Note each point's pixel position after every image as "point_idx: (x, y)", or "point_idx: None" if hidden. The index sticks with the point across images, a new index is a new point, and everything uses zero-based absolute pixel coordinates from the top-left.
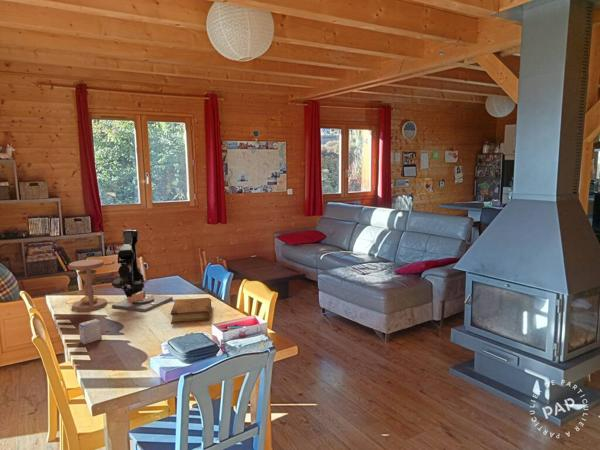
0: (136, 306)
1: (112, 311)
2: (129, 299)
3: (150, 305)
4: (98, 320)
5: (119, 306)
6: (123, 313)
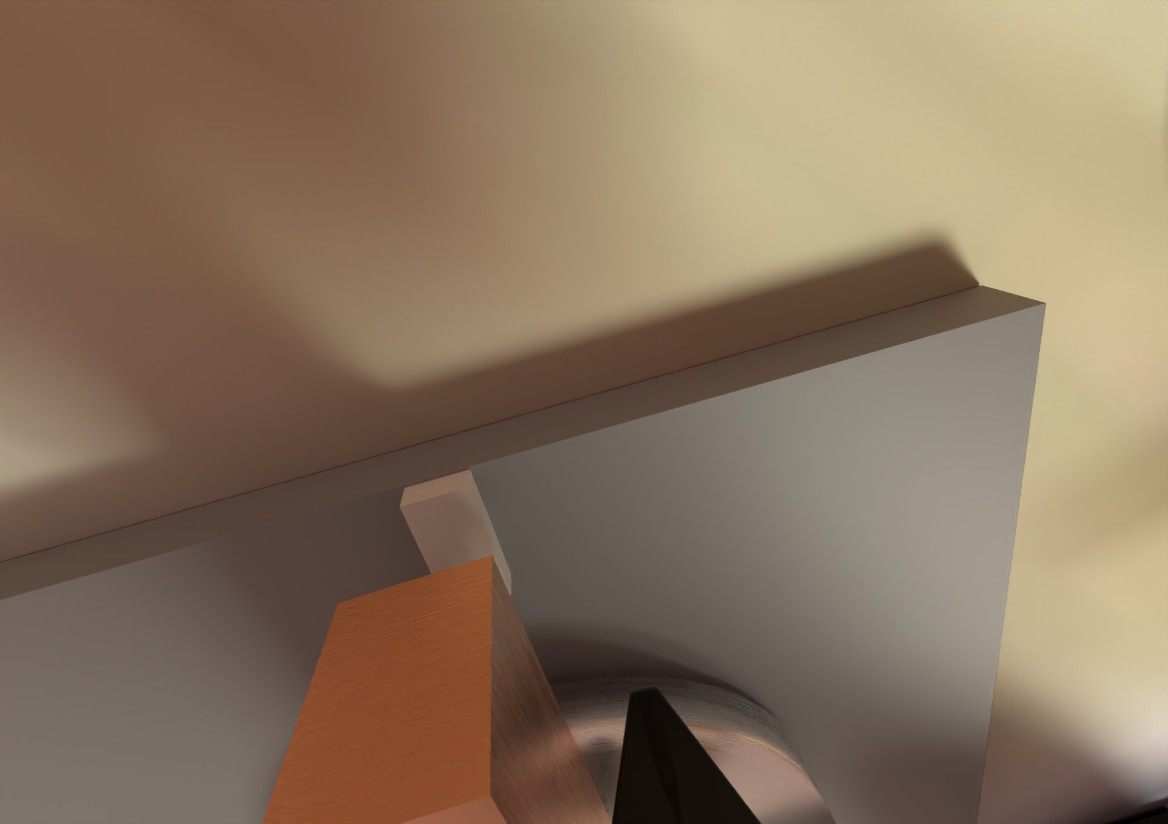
0: (286, 616)
1: (698, 65)
2: (361, 710)
3: (97, 820)
4: None
5: (761, 374)
6: (196, 153)
